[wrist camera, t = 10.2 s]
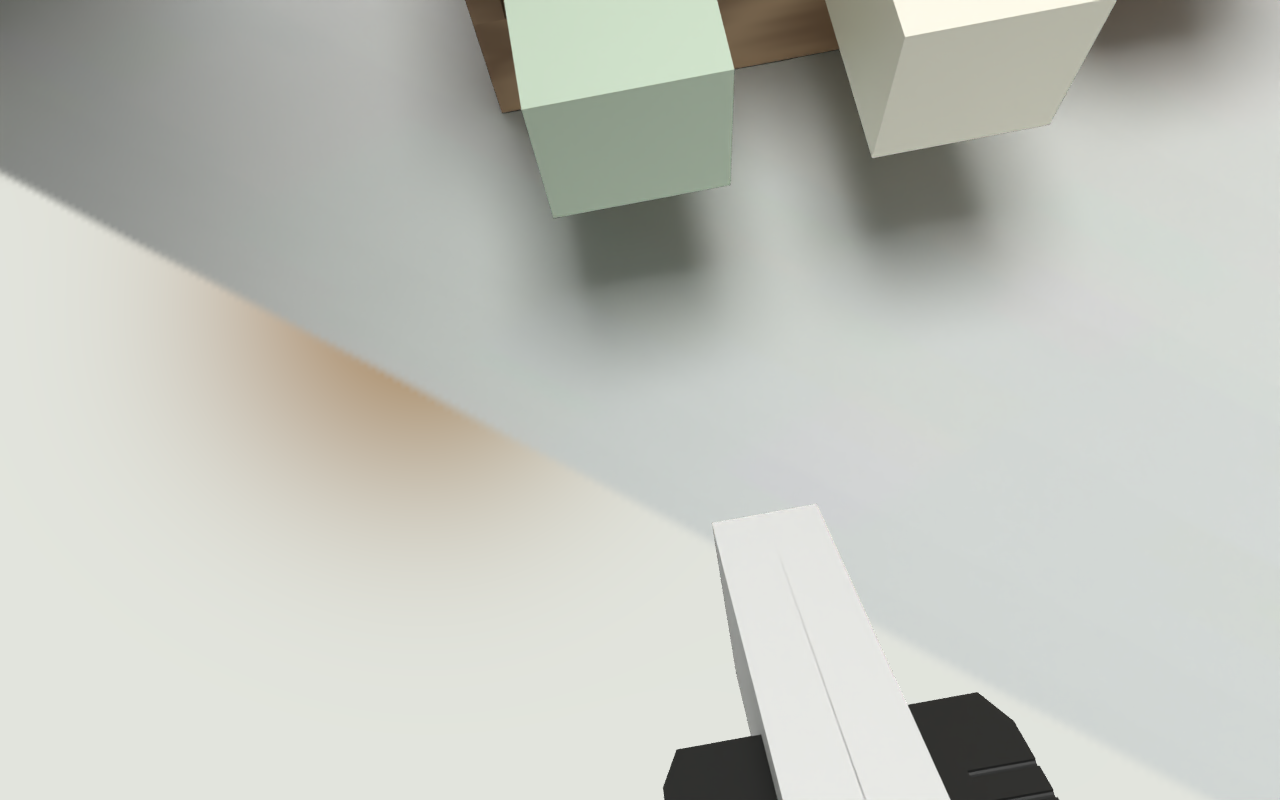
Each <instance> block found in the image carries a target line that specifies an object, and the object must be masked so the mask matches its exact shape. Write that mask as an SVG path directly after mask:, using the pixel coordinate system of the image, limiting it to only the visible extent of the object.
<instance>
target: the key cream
mask: <svg viewBox="0 0 1280 800" xmlns="http://www.w3.org/2000/svg"><path fill="white" fill-rule="evenodd" d="M1116 1H1117V0H825V2H826V5H827V8H828V12H829V15H830V18H831V22H832V25H833V29H834V32H835V35H836V39H837V42H838V45H839V49H840V52H841V55H842V59H843V62H844V66H845V69H846V72H847V76H848V79H849V82H850V86H851V89H852V92H853V96H854V99H855V103H856V106H857V109H858V113H859V116H860V119H861V123H862V126H863V130H864V133H865V136H866V140H867V143H868V146H869V150H870V153H871V156H872V158H876V157H881V156H887V155H892V154H897V153H903V152H908V151H913V150H918V149H924V148H929V147H934V146H940V145H945V144H950V143H955V142H961V141H966V140H971V139H977V138H982V137H987V136H993V135H998V134H1003V133H1008V132H1014V131H1019V130H1024V129H1030V128H1035V127H1040V126H1046V125H1050V123H1051V121H1052V119H1053V117H1054V115H1055V114H1056V112H1057V110H1058V108H1059V106H1060V104H1061V102H1062V101H1063V99H1064V97H1065V95H1066V93H1067V91H1068V90H1069V88H1070V86H1071V84H1072V82H1073V80H1074V78H1075V77H1076V75H1077V73H1078V71H1079V69H1080V67H1081V66H1082V64H1083V62H1084V60H1085V58H1086V56H1087V54H1088V53H1089V51H1090V49H1091V47H1092V45H1093V43H1094V42H1095V40H1096V38H1097V36H1098V34H1099V32H1100V30H1101V29H1102V27H1103V25H1104V23H1105V21H1106V19H1107V18H1108V16H1109V14H1110V12H1111V10H1112V8H1113V7H1114V5H1115V3H1116Z"/></svg>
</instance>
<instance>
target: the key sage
mask: <svg viewBox="0 0 1280 800" xmlns="http://www.w3.org/2000/svg"><path fill="white" fill-rule="evenodd" d="M504 4H505V10H506V16H507V23H508V29H509V35H510V41H511V48H512V54H513V60H514V66H515V73H516V79H517V85H518V91H519V98H520V104H521V110H522V113H523V117H524V120H525V123H526V127H527V130H528V134H529V137H530V140H531V144H532V147H533V151H534V154H535V157H536V161H537V164H538V167H539V171H540V174H541V178H542V181H543V184H544V188H545V191H546V195H547V198H548V201H549V205H550V208H551V211H552V215H553V218H558V217H564V216H569V215H574V214H580V213H585V212H590V211H595V210H601V209H606V208H611V207H617V206H622V205H627V204H632V203H638V202H643V201H648V200H654V199H659V198H664V197H670V196H675V195H680V194H685V193H691V192H696V191H701V190H707V189H712V188H717V187H723V186H728V185H730V181H731V153H732V124H733V95H734V66H733V62H732V58H731V54H730V50H729V46H728V42H727V38H726V34H725V30H724V26H723V22H722V18H721V14H720V10H719V6H718V2H717V0H504Z"/></svg>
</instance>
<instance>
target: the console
mask: <svg viewBox="0 0 1280 800" xmlns="http://www.w3.org/2000/svg"><path fill="white" fill-rule="evenodd" d="M465 1H466V4H467V8H468V11H469V14H470V17H471V20H472V23H473V26H474V29H475V32H476V35H477V38H478V41H479V44H480V47H481V50H482V53H483V56H484V59H485V62H486V66H487V69H488V72H489V75H490V78H491V81H492V84H493V87H494V90H495V93H496V96H497V99H498V102H499V105H500V108H501V111H502V113H505V112H510V111H515V110H521V104H520V98H519V91H518V85H517V79H516V73H515V66H514V60H513V54H512V48H511V41H510V35H509V29H508V23H507V16H506V10H505V4H504V0H465ZM717 2H718V6H719V10H720V14H721V18H722V22H723V26H724V30H725V34H726V38H727V42H728V46H729V50H730V54H731V58H732V62H733V66H734V69H737V68H742V67H748V66H753V65H758V64H764V63H769V62H774V61H779V60H785V59H790V58H795V57H801V56H806V55H811V54H816V53H822V52H827V51H832V50H837V49H839V45H838V42H837V39H836V35H835V32H834V29H833V25H832V22H831V18H830V15H829V12H828V8H827V5H826V2H825V0H717Z"/></svg>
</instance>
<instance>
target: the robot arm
mask: <svg viewBox="0 0 1280 800" xmlns="http://www.w3.org/2000/svg"><path fill="white" fill-rule="evenodd" d="M712 527H713V534H714V540H715V546H716V552H717V558H718V564H719V570H720V577H721V583H722V589H723V594H724V601H725V607H726V614H727V620H728V625H729V632H730V637H731V644H732V650H733V657H734V662H735V669H736V674H737V679H738V683H739V687H740V691H741V695H742V700H743V704H744V708H745V712H746V716H747V721H748V725H749V729H750V733H751V736H749V737H744V738H739V739H733V740H727V741H722V742H716V743H711V744H706V745H700V746H695V747H689V748H683V749H678V750H676V753H675V756H674V759H673V761H672V764H671V767H670V770H669V773H668V775H667V778H666V781H665V784H664V787H663V790H664V799H665V800H1059V799H1058V798H1056V797H1055V795H1054V792H1053V788H1052V787H1051V785H1050V783H1049V782H1048V780H1047V778H1046V776H1045V774H1044V773H1043V771H1042V769H1041V768H1040V766H1037V764H1036V761H1035V757H1034V755H1033V754H1032V752H1031V750H1030V748H1029V747H1028V745H1027V743H1026V742H1025V740H1024V738H1023V737H1022V735H1021V733H1020V731H1019V730H1018V728H1017V726H1016V724H1015V722H1014V721H1013V720H1012V719H1010V718H1009V717H1008V716H1007V715H1005V714H1004V713H1003V712H1001V711H1000V710H999V709H998V708H996V707H995V706H994V705H993V704H991V703H990V702H989V701H988V700H987V699H985V698H984V697H983V696H981V695H980V694H979V693H977V692H976V693H971V694H965V695H960V696H954V697H949V698H943V699H938V700H932V701H927V702H921V703H916V704H910V705H907V703H906V701H905V698H904V696H903V694H902V691H901V689H900V687H899V685H898V683H897V680H896V678H895V676H894V674H893V671H892V669H891V667H890V665H889V663H888V660H887V658H886V656H885V654H884V652H883V649H882V647H881V645H880V643H879V640H878V638H877V636H876V634H875V632H874V629H873V627H872V625H871V623H870V620H869V618H868V616H867V614H866V612H865V609H864V607H863V605H862V603H861V601H860V598H859V596H858V594H857V592H856V589H855V587H854V585H853V583H852V581H851V578H850V576H849V574H848V572H847V569H846V567H845V565H844V563H843V561H842V558H841V556H840V554H839V552H838V550H837V547H836V545H835V543H834V541H833V538H832V536H831V534H830V532H829V530H828V527H827V525H826V523H825V521H824V518H823V516H822V514H821V512H820V510H819V507H818V505H817V504H812V505H806V506H801V507H795V508H790V509H785V510H779V511H774V512H768V513H763V514H757V515H752V516H746V517H741V518H735V519H730V520H725V521H719V522H714V523H712Z"/></svg>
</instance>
